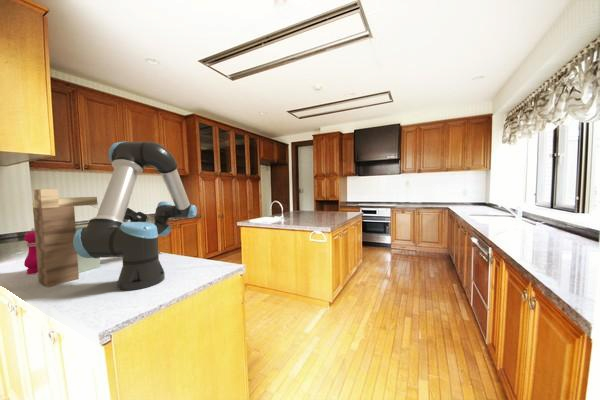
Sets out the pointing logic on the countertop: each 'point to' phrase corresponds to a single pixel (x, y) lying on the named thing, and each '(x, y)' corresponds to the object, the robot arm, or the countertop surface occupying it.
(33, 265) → the pepper mill
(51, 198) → the tan tall block
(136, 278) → the robot arm
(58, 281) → the walnut post
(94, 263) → the sage box
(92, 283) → the countertop surface
